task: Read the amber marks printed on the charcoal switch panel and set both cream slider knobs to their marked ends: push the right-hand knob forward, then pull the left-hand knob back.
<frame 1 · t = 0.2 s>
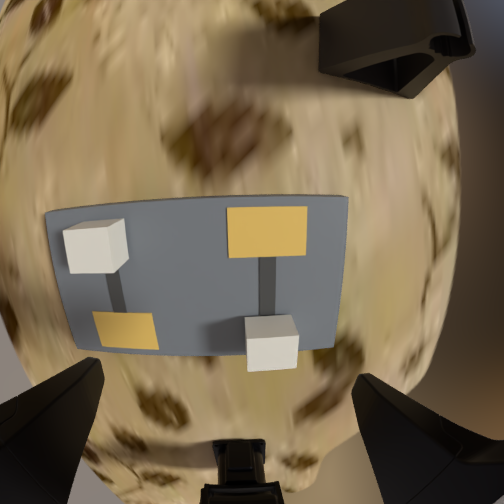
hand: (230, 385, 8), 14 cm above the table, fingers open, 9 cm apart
slider a: (270, 342, 20), point 3 cm above the table, slide at 0.0 cm
phone stand: (367, 56, 18), on the table
switch panel: (190, 279, 22), on the table
slider b: (96, 245, 17), point 3 cm above the table, slide at 8.0 cm
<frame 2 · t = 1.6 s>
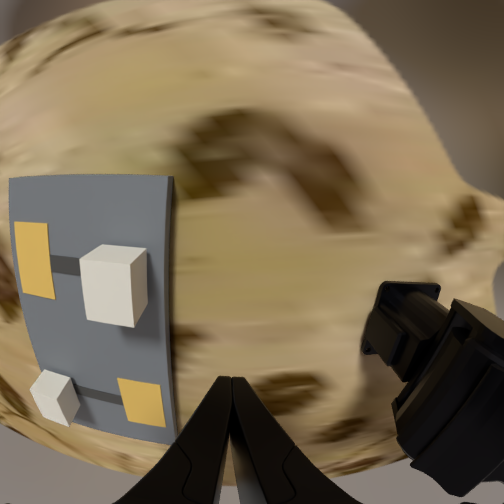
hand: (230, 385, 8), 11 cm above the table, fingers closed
slider a: (115, 283, 15), point 3 cm above the table, slide at 0.0 cm
switch panel: (93, 330, 19), on the table
slider b: (55, 398, 17), point 3 cm above the table, slide at 8.0 cm
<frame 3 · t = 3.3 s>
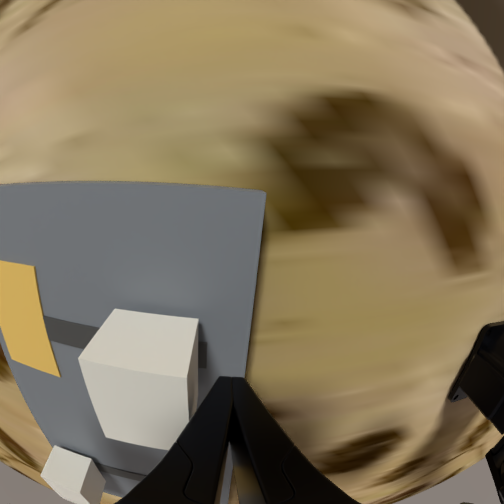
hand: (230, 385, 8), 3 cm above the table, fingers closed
slider a: (148, 382, 8), point 3 cm above the table, slide at 0.8 cm, touching gripper
switch panel: (120, 408, 12), on the table
slider b: (75, 479, 10), point 3 cm above the table, slide at 8.0 cm
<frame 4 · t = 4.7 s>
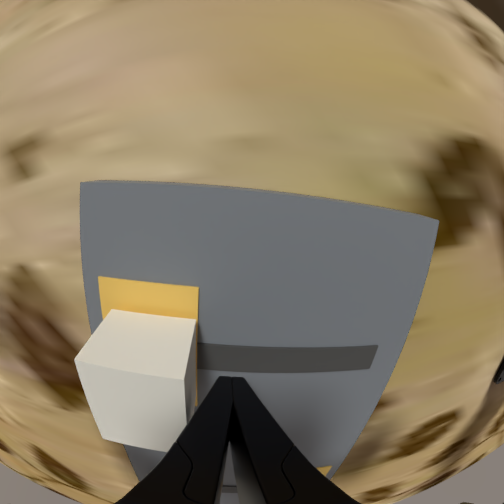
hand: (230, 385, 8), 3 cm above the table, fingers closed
slider a: (145, 383, 8), point 3 cm above the table, slide at 7.7 cm, touching gripper
switch panel: (241, 424, 13), on the table
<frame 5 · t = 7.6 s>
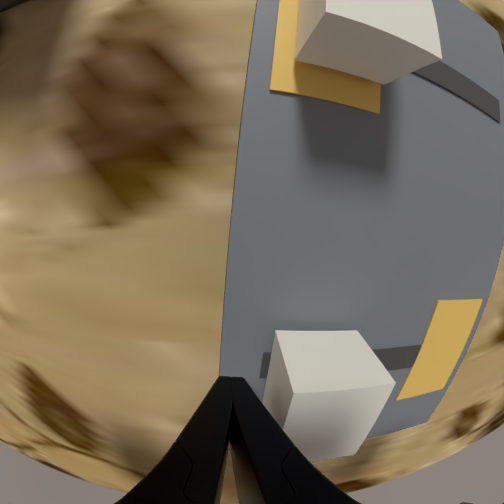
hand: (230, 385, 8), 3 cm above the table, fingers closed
slider a: (361, 7, 5), point 3 cm above the table, slide at 7.7 cm
switch panel: (396, 211, 10), on the table
slider b: (318, 398, 8), point 3 cm above the table, slide at 7.3 cm, touching gripper
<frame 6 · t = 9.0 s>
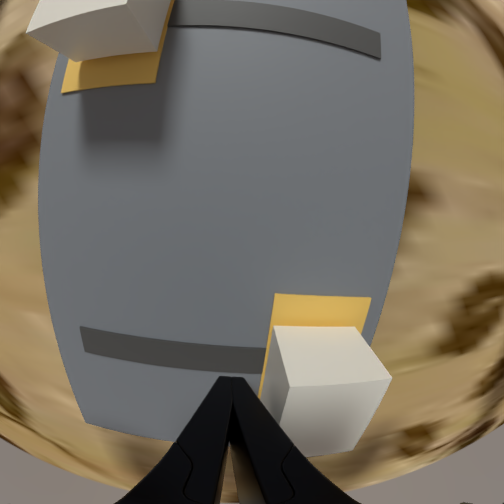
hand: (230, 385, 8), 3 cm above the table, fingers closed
switch panel: (217, 185, 10), on the table
slider b: (315, 393, 8), point 3 cm above the table, slide at 0.3 cm, touching gripper
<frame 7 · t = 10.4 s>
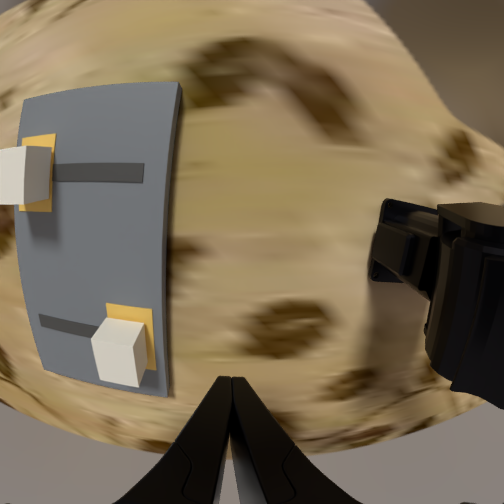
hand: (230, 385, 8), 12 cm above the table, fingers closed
slider a: (22, 174, 13), point 3 cm above the table, slide at 7.7 cm
switch panel: (86, 252, 18), on the table
slider b: (121, 352, 17), point 3 cm above the table, slide at 0.3 cm
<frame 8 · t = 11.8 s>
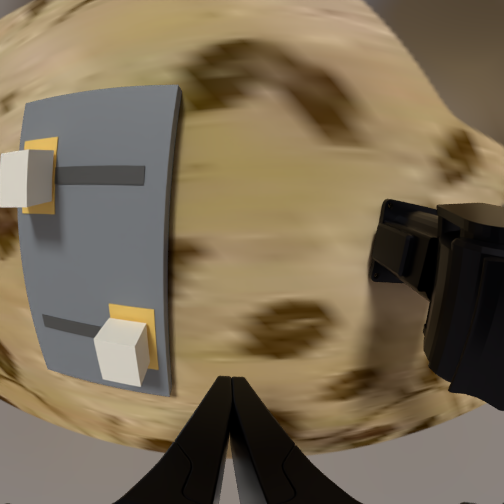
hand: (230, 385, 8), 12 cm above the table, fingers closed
slider a: (25, 177, 14), point 3 cm above the table, slide at 7.7 cm
switch panel: (89, 253, 19), on the table
slider b: (123, 351, 17), point 3 cm above the table, slide at 0.3 cm
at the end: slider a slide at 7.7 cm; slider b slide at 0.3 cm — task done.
